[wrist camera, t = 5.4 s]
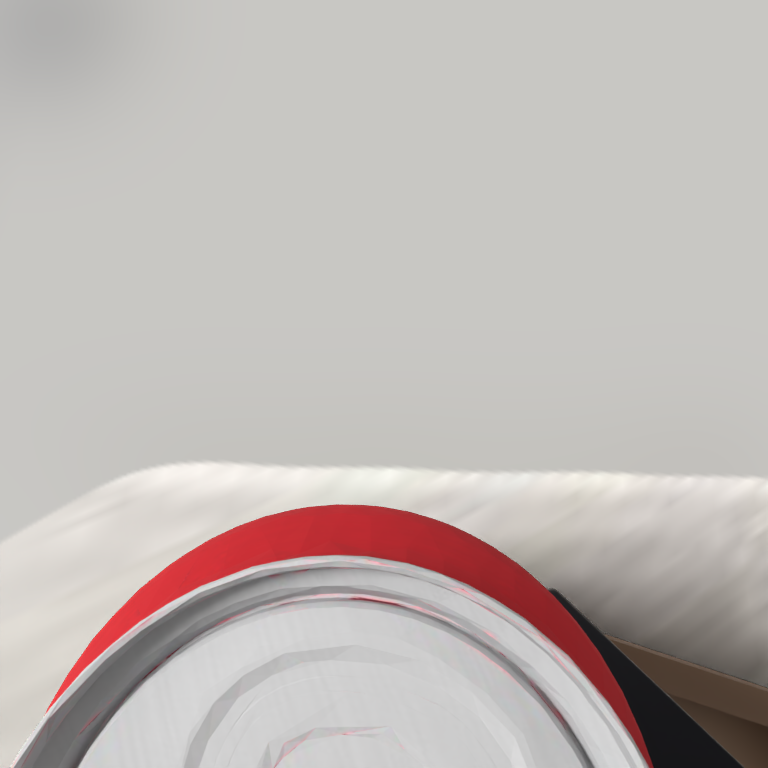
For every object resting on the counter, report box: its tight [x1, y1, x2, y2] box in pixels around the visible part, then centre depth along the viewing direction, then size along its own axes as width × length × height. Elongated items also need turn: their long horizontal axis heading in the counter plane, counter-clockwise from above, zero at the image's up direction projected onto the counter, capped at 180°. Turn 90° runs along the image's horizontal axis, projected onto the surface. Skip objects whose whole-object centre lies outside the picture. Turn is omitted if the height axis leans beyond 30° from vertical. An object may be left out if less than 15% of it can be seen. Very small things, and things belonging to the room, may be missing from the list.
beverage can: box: [10, 505, 654, 768], centre depth 9 cm, size 6×6×12 cm
